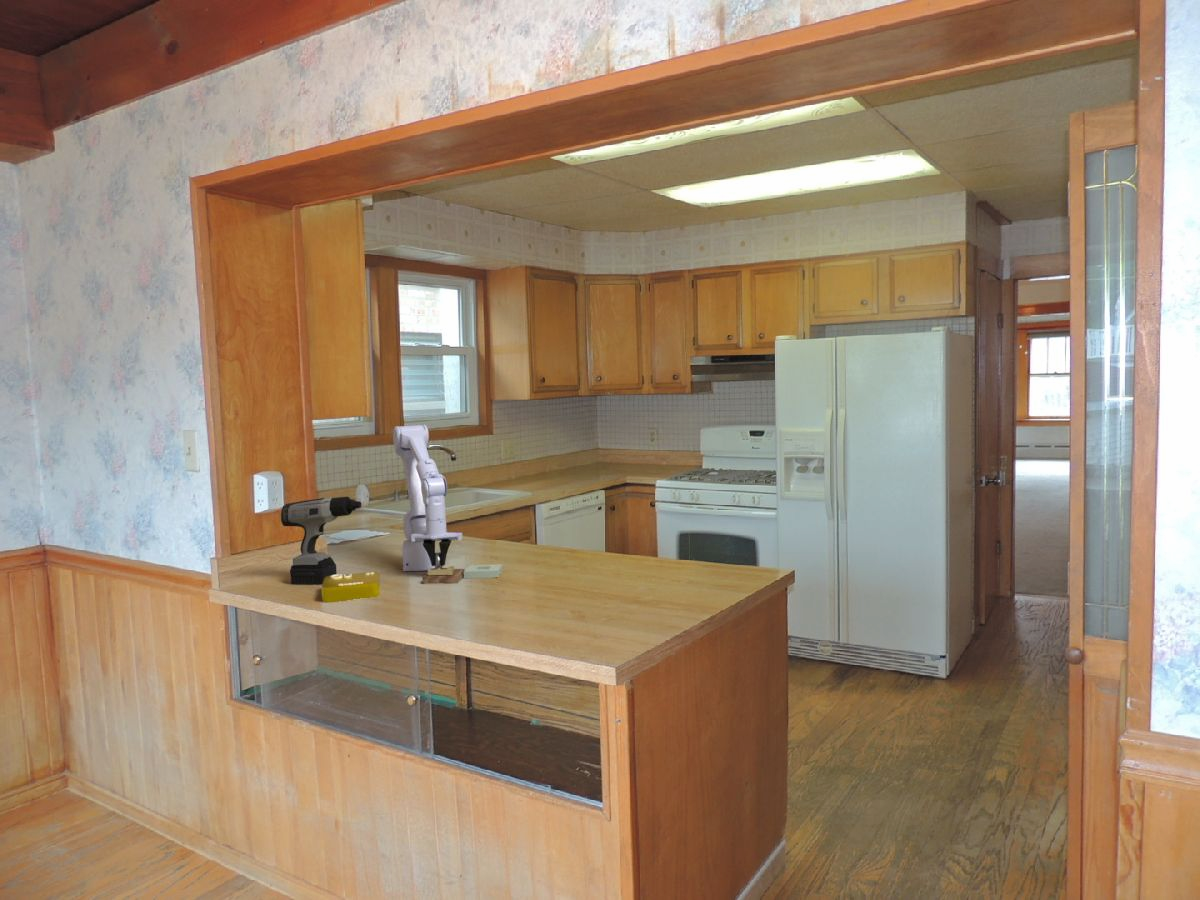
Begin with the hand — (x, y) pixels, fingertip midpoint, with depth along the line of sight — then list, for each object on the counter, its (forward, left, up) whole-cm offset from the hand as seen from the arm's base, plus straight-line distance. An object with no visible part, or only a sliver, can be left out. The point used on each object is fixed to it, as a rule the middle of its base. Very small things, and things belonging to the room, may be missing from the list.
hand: (438, 565), depth 249 cm
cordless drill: (-33, -1, -4) cm, 33 cm away
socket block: (+2, -2, -4) cm, 5 cm away
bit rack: (+13, +3, -4) cm, 13 cm away
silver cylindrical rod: (0, 0, -3) cm, 3 cm away
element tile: (-20, -15, -4) cm, 26 cm away
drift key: (+2, -5, -1) cm, 6 cm away
